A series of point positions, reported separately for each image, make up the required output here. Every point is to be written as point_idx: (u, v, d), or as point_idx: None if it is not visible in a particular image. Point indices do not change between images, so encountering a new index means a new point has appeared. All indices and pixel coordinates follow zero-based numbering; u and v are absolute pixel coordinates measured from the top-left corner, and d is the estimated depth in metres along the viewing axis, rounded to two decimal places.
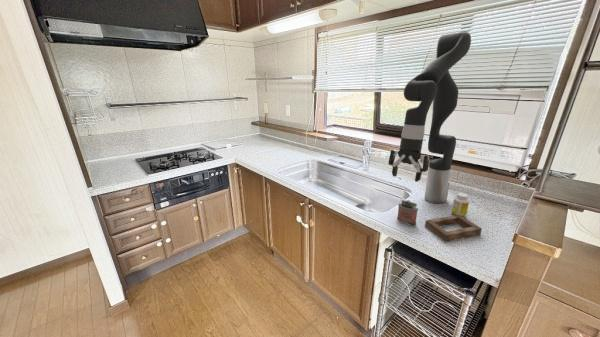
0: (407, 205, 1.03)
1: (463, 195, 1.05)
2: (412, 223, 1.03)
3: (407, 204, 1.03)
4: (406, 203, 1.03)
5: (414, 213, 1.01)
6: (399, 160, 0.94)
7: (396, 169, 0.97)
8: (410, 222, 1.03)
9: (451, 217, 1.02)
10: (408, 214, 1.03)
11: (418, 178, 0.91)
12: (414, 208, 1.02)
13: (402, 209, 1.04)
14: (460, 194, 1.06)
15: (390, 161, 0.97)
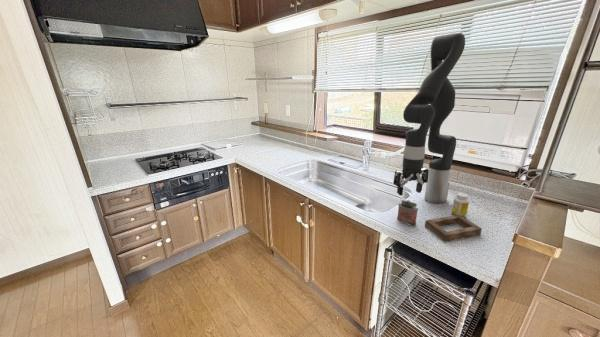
0: (407, 205, 1.03)
1: (463, 195, 1.05)
2: (412, 223, 1.03)
3: (407, 204, 1.03)
4: (406, 203, 1.03)
5: (414, 213, 1.01)
6: (407, 180, 0.97)
7: None
8: (410, 222, 1.03)
9: (451, 217, 1.02)
10: (408, 214, 1.03)
11: (421, 189, 1.01)
12: (414, 208, 1.02)
13: (402, 209, 1.04)
14: (460, 194, 1.06)
15: (398, 183, 0.97)
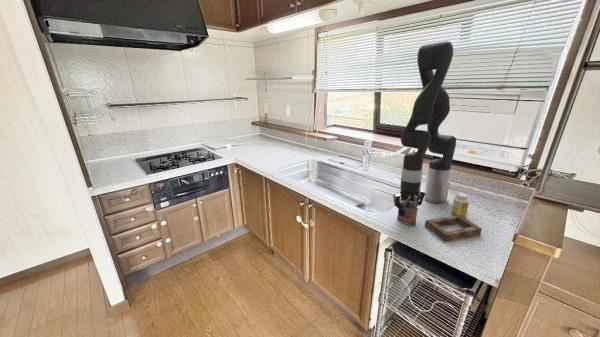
0: (407, 205, 1.03)
1: (463, 195, 1.05)
2: (412, 223, 1.03)
3: (407, 204, 1.03)
4: None
5: (414, 213, 1.01)
6: (406, 201, 1.01)
7: None
8: (410, 222, 1.03)
9: (451, 217, 1.02)
10: (408, 214, 1.03)
11: None
12: (414, 208, 1.02)
13: None
14: (460, 194, 1.06)
15: (399, 206, 1.01)
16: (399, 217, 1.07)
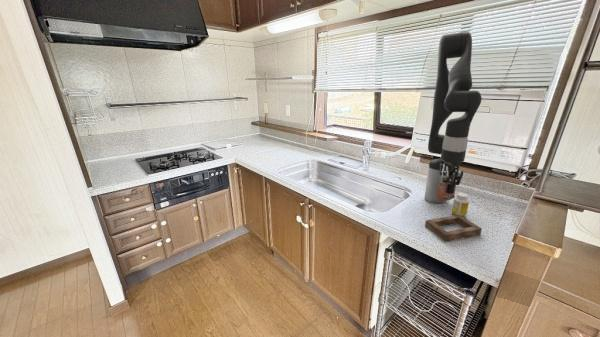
0: None
1: (463, 195, 1.05)
2: (454, 195, 0.95)
3: None
4: None
5: None
6: None
7: None
8: (453, 195, 0.95)
9: (451, 217, 1.02)
10: None
11: None
12: None
13: None
14: (460, 194, 1.06)
15: None
16: (443, 197, 0.93)
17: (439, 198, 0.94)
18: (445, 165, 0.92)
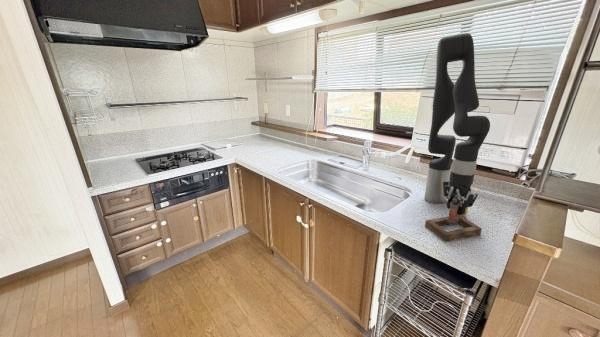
0: None
1: None
2: (459, 215, 0.97)
3: None
4: None
5: None
6: None
7: None
8: (459, 215, 0.97)
9: None
10: None
11: None
12: None
13: None
14: None
15: None
16: (455, 219, 0.94)
17: (451, 220, 0.94)
18: (454, 187, 0.92)
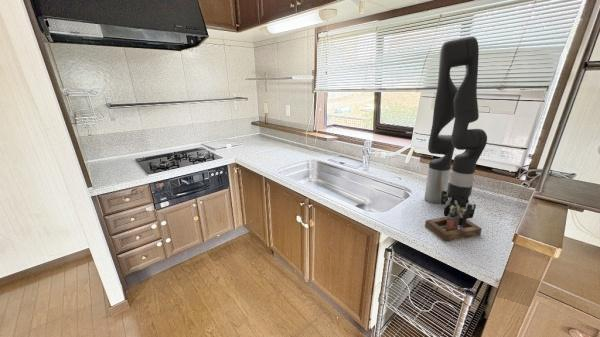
0: (456, 213, 0.95)
1: None
2: (457, 226, 0.99)
3: (456, 212, 0.95)
4: (456, 211, 0.95)
5: None
6: None
7: None
8: (457, 227, 0.98)
9: None
10: (458, 221, 0.96)
11: None
12: (456, 211, 0.98)
13: (455, 220, 0.94)
14: None
15: None
16: None
17: None
18: (452, 199, 0.94)
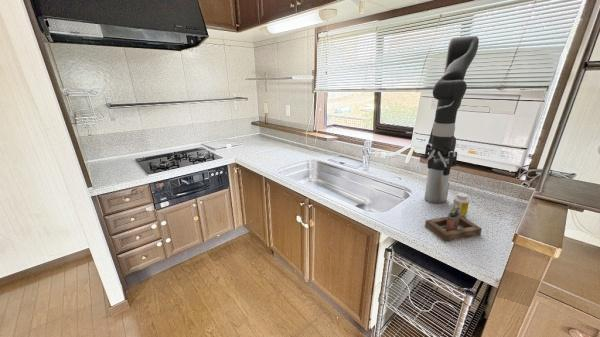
0: (456, 213, 0.95)
1: (463, 195, 1.05)
2: (457, 226, 0.99)
3: (457, 212, 0.95)
4: (456, 211, 0.95)
5: None
6: None
7: None
8: (457, 227, 0.98)
9: None
10: (458, 221, 0.96)
11: None
12: (456, 211, 0.98)
13: (456, 220, 0.94)
14: (460, 194, 1.06)
15: None
16: None
17: None
18: (435, 151, 0.99)
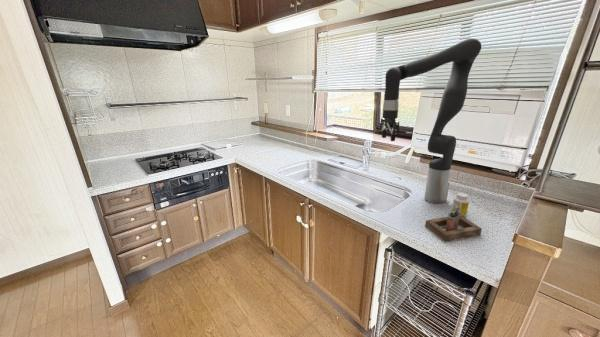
0: (456, 213, 0.95)
1: (463, 195, 1.05)
2: (457, 226, 0.99)
3: (457, 212, 0.95)
4: (456, 211, 0.95)
5: None
6: None
7: None
8: (457, 227, 0.98)
9: None
10: (458, 221, 0.96)
11: None
12: (456, 211, 0.98)
13: (456, 220, 0.94)
14: (460, 194, 1.06)
15: None
16: None
17: None
18: (385, 122, 1.29)
